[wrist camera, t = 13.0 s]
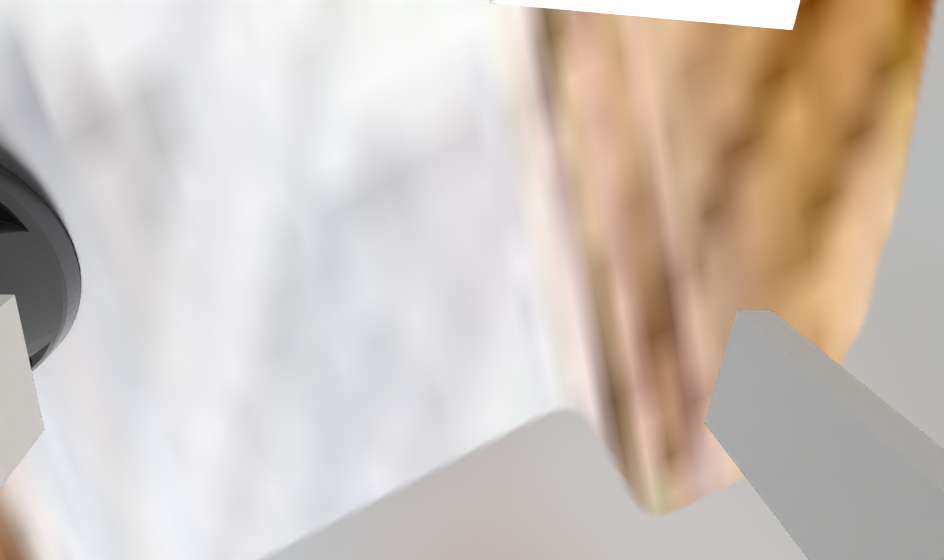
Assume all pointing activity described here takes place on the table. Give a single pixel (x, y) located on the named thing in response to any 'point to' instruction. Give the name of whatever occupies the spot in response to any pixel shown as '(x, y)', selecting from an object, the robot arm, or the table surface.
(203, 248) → the table surface
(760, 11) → the cover board
